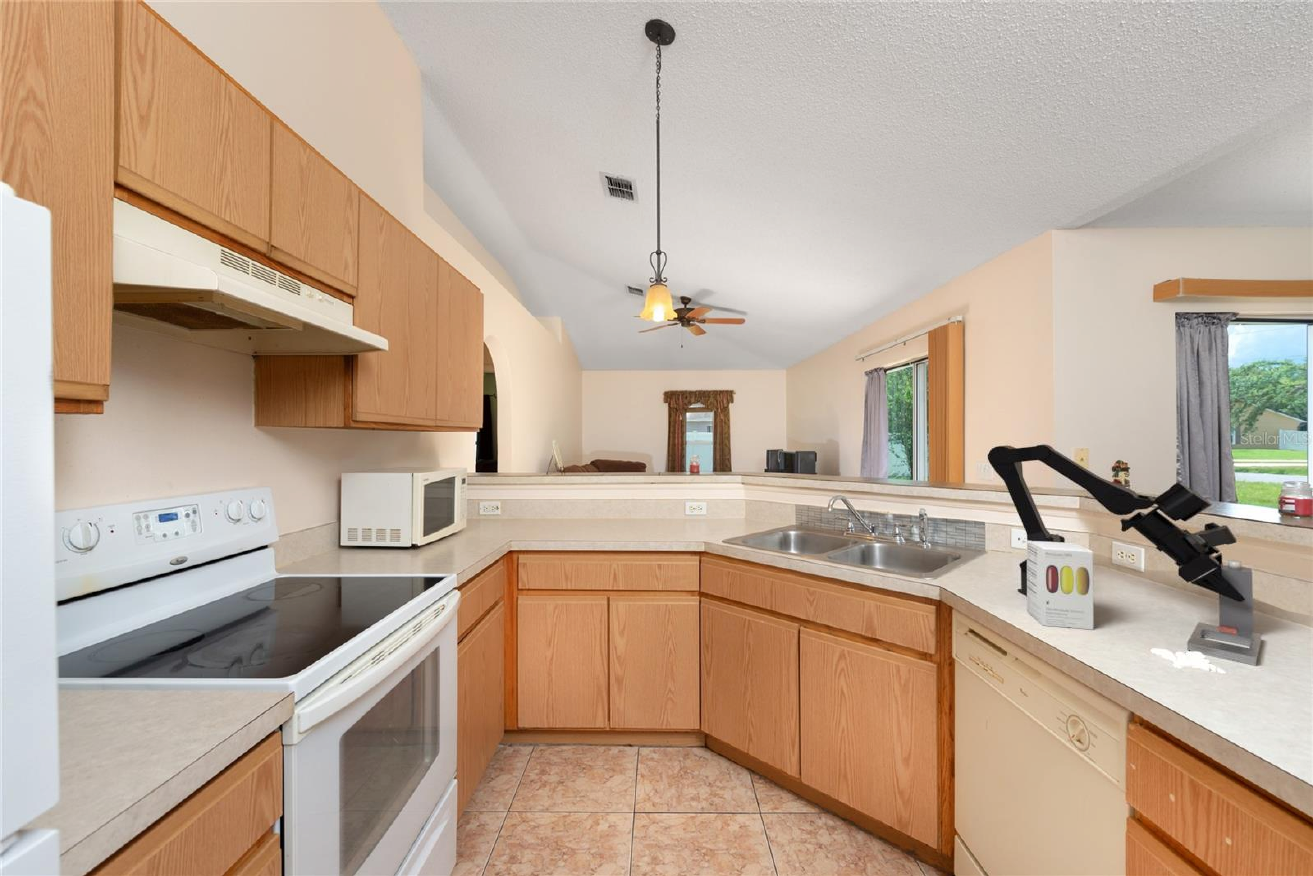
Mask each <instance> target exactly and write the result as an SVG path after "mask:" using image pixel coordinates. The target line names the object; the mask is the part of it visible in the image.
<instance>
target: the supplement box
mask: <svg viewBox="0 0 1313 876" xmlns="http://www.w3.org/2000/svg"><path fill="white" fill-rule="evenodd" d="M1026 559H1027V596H1026V611H1027V613H1028V614H1029V615H1031V616H1032V617H1033V618H1034V619H1035V620H1036V621H1037V622H1038V623H1040V624H1041V625H1042V626H1044V625H1045V627H1046V626H1047V627H1058V628H1067V627H1071V628H1070V629H1079V630H1089V631H1090V630H1092V631H1094V628H1095V627H1094V551H1093V550H1091V549H1089V548H1086V547H1084V546H1082V545H1079V544H1077V543H1075V542H1065V543H1063V542H1043V541H1027V540H1026Z"/></svg>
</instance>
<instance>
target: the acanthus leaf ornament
mask: <svg viewBox="0 0 1313 876" xmlns="http://www.w3.org/2000/svg"><path fill="white" fill-rule="evenodd" d="M1151 652H1152V653H1151ZM1150 653H1151V654H1154V653H1155V655H1157V656H1159V655H1161V656H1160V657H1161V658H1163V659H1165V660H1168V659H1169V660H1168V661H1170V660H1171V662H1172V661H1173V662H1174V663H1173V662H1172V663H1173V664H1172V665H1173V666H1174V668H1176V667H1177V668H1176V669H1180V668H1191V667H1192V669H1197V668H1201V669H1204V670H1203V671H1205V670H1207V671H1206V672H1213V671H1214V673H1219V672H1220V674H1223V673H1227V672H1226V671H1225V670H1224V669H1222V668H1220V667H1218V666H1216V665H1214V664H1212V663H1211V661H1210V660H1209V659H1207V655H1205V654H1202V653H1201V652H1197V651H1194V652H1192V651H1185V652H1182V651H1177V652H1175V653H1173V652H1172V651H1170V650H1168V649H1165V648H1151V649H1150ZM1173 666H1172V667H1173ZM1201 669H1200V670H1201Z"/></svg>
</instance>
